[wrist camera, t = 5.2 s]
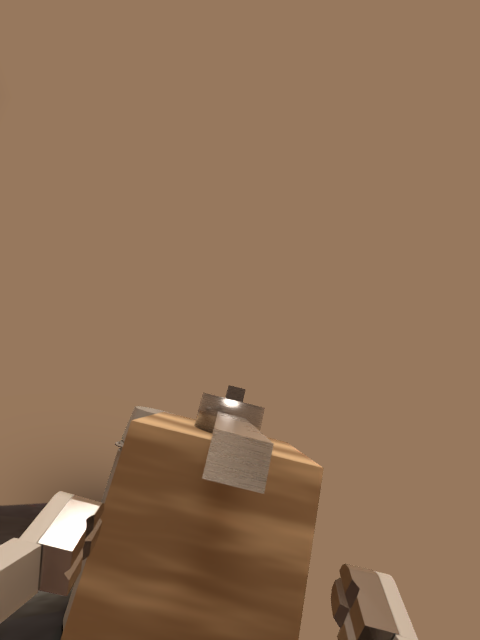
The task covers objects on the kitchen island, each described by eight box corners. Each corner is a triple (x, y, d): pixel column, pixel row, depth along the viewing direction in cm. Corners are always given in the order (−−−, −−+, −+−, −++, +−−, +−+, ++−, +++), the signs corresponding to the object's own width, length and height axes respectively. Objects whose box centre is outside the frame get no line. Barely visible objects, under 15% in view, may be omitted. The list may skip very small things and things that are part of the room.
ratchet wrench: (310, 505, 11) (328, 393, 12) (155, 466, 11) (186, 358, 12) (253, 436, 30) (262, 395, 31) (196, 422, 30) (207, 381, 31)
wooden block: (237, 1056, 14) (323, 468, 21) (-51, 985, 14) (131, 420, 21) (229, 754, 25) (286, 442, 32) (73, 715, 25) (163, 411, 32)
